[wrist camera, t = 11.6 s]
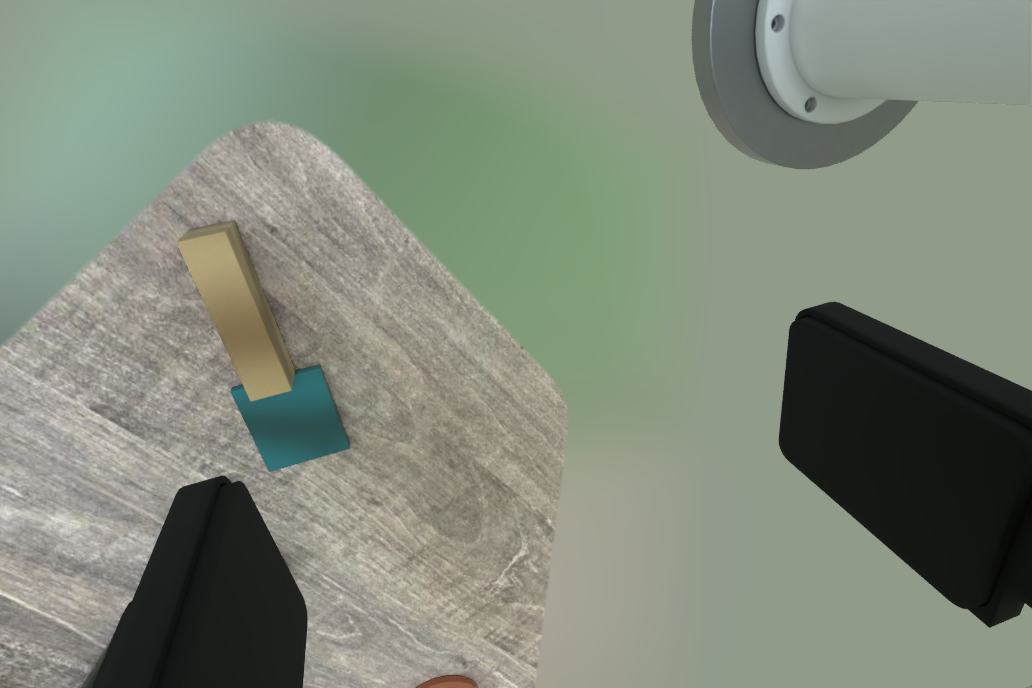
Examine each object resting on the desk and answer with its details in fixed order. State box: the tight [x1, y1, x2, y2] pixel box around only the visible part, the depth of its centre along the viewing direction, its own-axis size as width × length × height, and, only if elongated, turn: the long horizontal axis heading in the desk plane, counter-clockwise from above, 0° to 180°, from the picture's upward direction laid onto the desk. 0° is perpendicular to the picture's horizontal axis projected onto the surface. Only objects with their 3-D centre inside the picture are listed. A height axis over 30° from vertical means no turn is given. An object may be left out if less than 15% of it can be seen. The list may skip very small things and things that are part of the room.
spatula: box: [177, 221, 350, 472], centre depth 30 cm, size 15×5×2 cm, turn 9°
